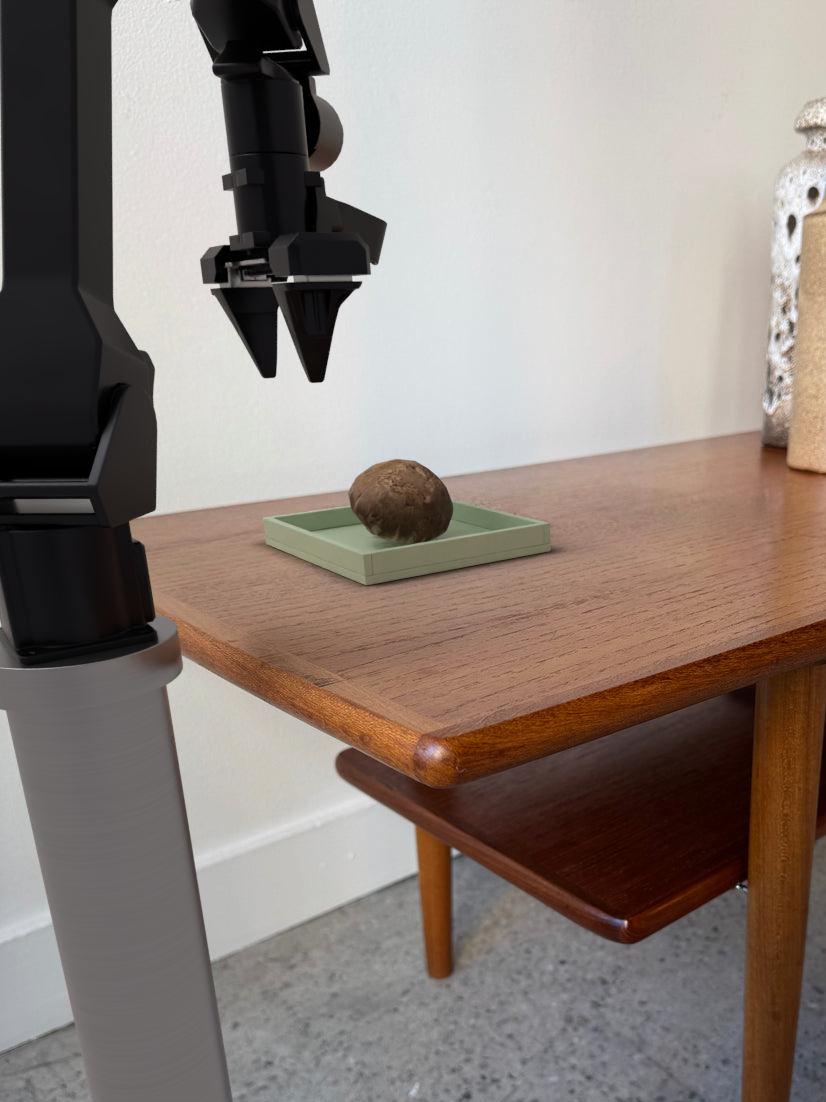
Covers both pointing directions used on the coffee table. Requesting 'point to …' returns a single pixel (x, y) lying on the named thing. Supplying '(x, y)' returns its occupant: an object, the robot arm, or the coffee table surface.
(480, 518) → the tray
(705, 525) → the coffee table surface
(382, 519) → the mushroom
